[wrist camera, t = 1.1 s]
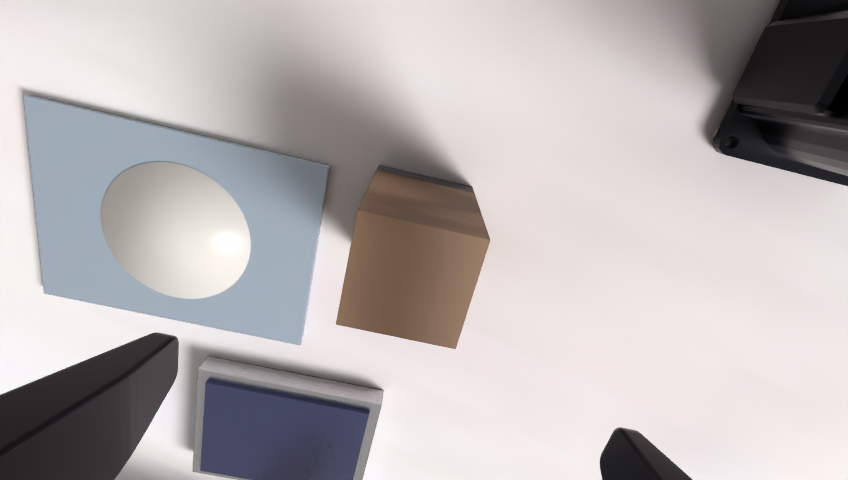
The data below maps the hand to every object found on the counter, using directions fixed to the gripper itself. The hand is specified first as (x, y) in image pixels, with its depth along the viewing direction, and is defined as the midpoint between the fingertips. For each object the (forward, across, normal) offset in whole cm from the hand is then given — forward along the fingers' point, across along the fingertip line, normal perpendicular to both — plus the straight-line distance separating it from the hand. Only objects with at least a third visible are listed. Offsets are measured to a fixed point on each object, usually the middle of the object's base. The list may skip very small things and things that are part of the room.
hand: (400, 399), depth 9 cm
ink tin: (+11, +4, +13) cm, 18 cm away
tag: (+11, +10, +3) cm, 15 cm away
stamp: (+11, 0, 0) cm, 11 cm away
